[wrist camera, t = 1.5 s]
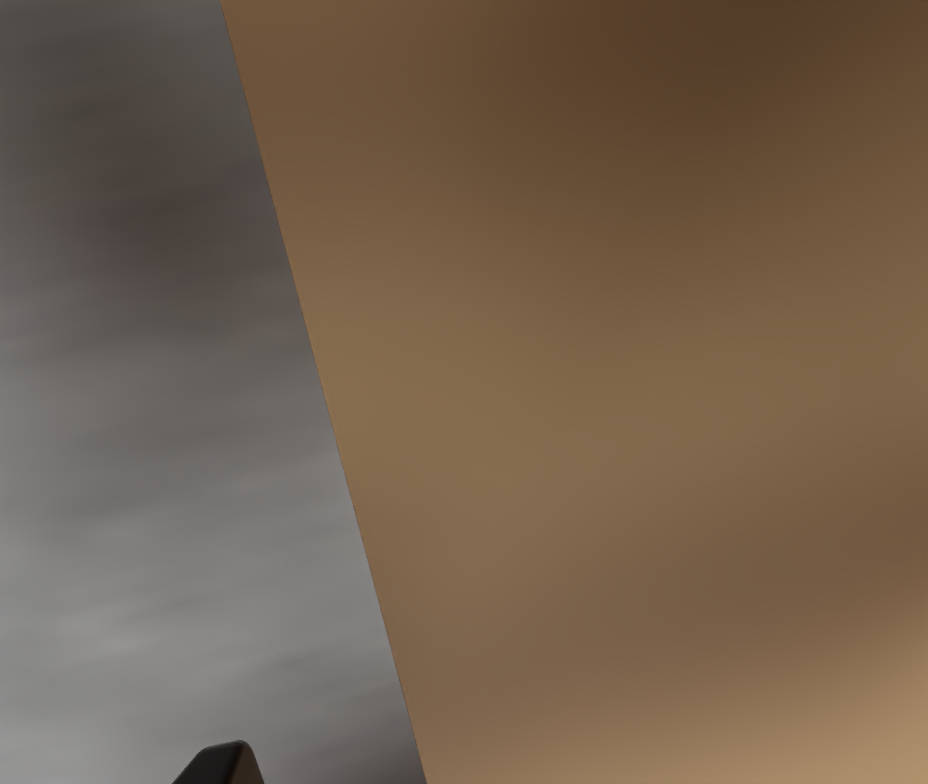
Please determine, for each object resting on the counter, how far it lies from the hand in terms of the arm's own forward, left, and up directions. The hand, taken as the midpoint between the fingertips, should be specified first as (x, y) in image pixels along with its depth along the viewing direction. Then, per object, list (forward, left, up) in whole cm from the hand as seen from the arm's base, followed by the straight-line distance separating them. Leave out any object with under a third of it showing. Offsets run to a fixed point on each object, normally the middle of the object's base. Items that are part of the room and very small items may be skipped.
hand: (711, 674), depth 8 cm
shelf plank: (0, 0, -5) cm, 5 cm away
